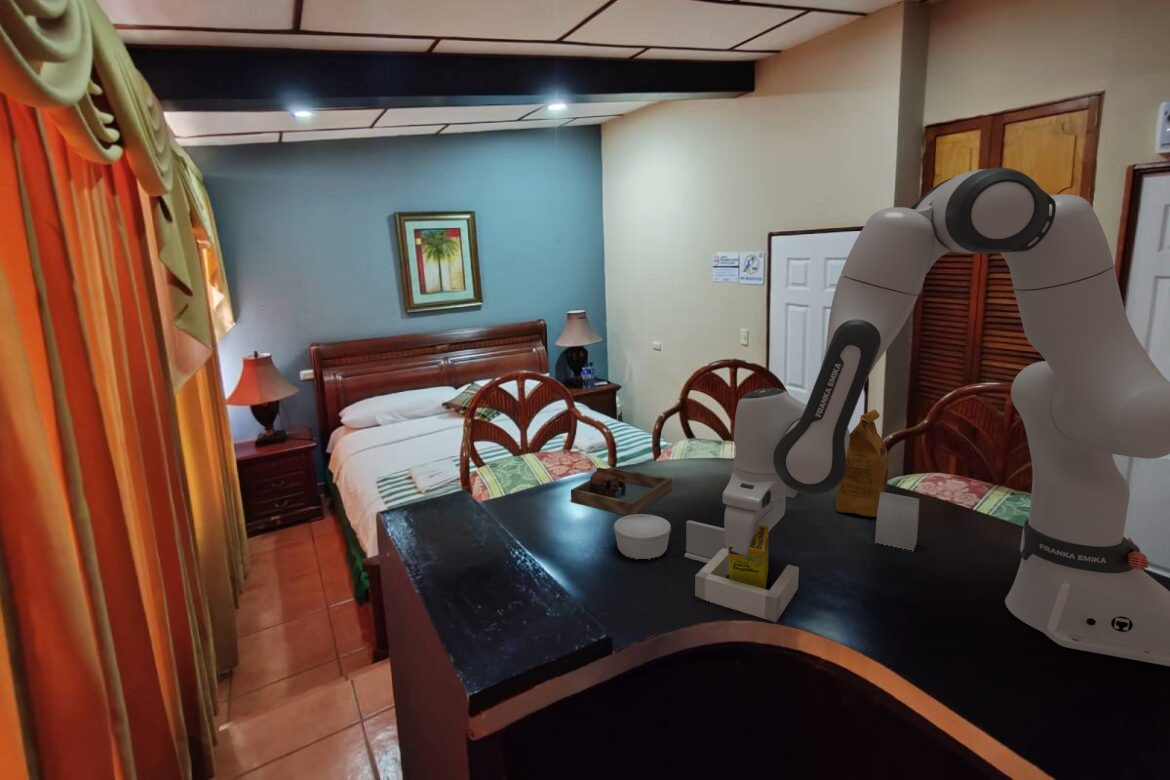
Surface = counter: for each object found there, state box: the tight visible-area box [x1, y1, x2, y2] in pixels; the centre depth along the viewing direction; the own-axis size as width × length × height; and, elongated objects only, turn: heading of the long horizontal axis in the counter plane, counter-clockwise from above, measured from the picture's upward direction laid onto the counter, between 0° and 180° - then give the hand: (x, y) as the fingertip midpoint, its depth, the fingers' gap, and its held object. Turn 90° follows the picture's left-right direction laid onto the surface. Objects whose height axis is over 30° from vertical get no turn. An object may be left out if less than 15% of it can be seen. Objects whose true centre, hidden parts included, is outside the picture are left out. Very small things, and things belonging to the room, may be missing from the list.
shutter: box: [685, 520, 727, 558], centre depth 113 cm, size 9×1×8 cm, turn 55°
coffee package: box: [835, 409, 890, 518], centre depth 133 cm, size 10×12×22 cm
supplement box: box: [728, 526, 770, 590], centre depth 101 cm, size 6×6×11 cm
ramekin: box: [613, 513, 672, 560], centre depth 119 cm, size 11×11×5 cm
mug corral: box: [570, 467, 673, 516], centre depth 146 cm, size 17×19×3 cm
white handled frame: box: [684, 548, 800, 623], centre depth 105 cm, size 21×14×4 cm
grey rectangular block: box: [874, 492, 920, 552], centre depth 117 cm, size 4×7×10 cm, turn 54°
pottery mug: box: [586, 467, 627, 498], centre depth 145 cm, size 12×10×8 cm
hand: (756, 557), depth 106 cm, fingers closed
